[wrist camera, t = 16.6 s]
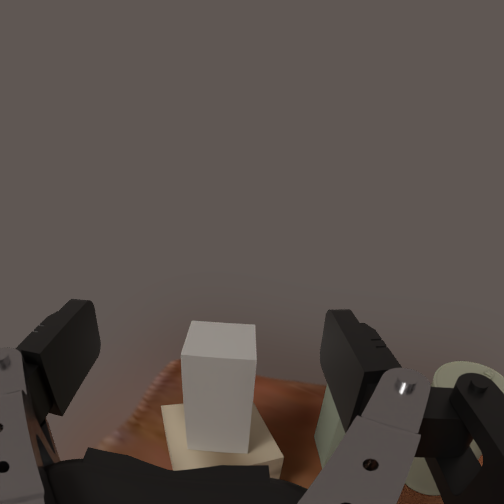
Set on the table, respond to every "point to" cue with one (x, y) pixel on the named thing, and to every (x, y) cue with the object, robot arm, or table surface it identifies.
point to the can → (419, 470)
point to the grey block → (218, 385)
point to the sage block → (328, 429)
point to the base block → (259, 452)
